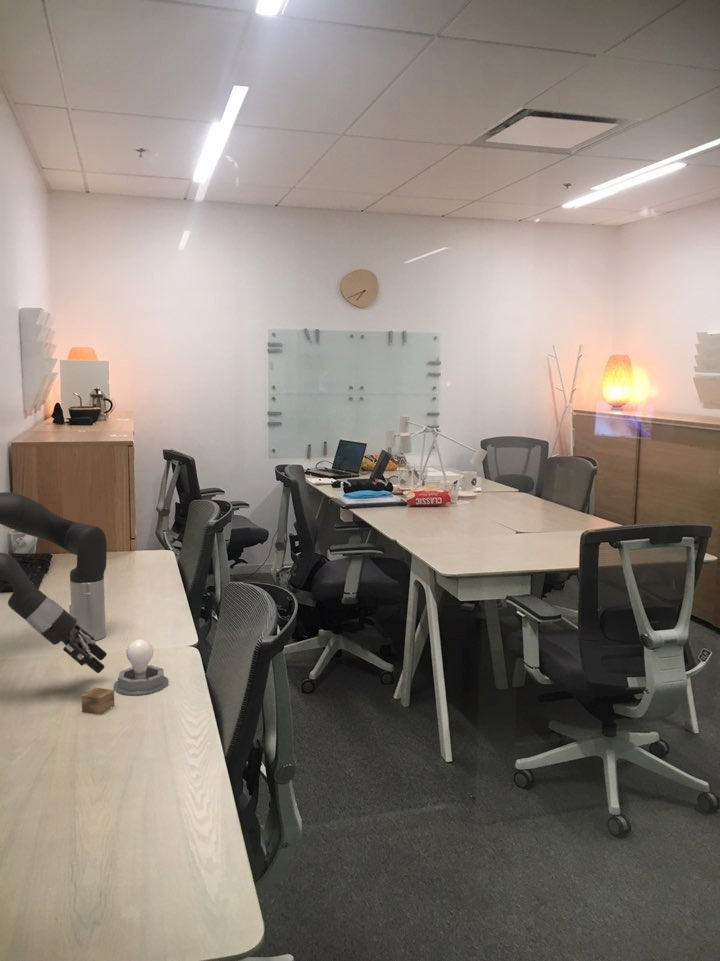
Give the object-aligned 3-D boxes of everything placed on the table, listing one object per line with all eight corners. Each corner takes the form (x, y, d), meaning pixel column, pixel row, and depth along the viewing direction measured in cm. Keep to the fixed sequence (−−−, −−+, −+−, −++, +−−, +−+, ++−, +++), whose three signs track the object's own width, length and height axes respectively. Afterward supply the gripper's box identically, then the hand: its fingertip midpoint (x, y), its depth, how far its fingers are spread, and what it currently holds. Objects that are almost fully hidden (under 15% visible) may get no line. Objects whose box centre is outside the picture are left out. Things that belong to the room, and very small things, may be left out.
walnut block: (82, 712, 173) (81, 695, 173) (95, 704, 178) (95, 687, 178) (101, 715, 172) (100, 698, 171) (114, 706, 177) (114, 690, 176)
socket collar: (102, 687, 187) (101, 675, 187) (144, 671, 198) (143, 660, 198) (138, 700, 180) (138, 687, 180) (179, 682, 191) (179, 670, 190)
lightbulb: (159, 680, 191) (158, 637, 190) (144, 689, 185) (142, 645, 184) (137, 677, 193) (136, 634, 192) (121, 686, 187) (120, 642, 186)
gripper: (43, 622, 188) (94, 664, 193) (34, 641, 175) (89, 686, 179) (66, 600, 189) (116, 642, 193) (58, 617, 175) (112, 662, 180)
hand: (103, 663), depth 186 cm, fingers open, 8 cm apart
